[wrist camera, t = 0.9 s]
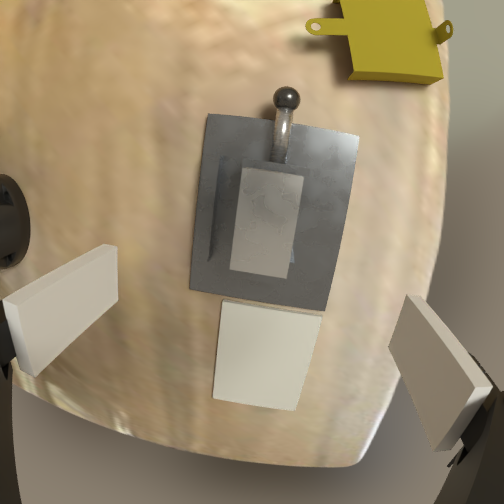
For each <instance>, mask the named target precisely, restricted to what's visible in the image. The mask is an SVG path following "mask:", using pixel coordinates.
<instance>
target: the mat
mask: <svg viewBox="0 0 504 504" xmlns="http://www.w3.org/2000/svg"><path fill="white" fill-rule="evenodd" d="M321 321H322V315H319V314H312V313H305V312H298V311H292V310H285V309H279V308H272V307H266V306H260V305H254V304H248V303H242V302H236V301H231V300H225V299H223V302H222V311H221V320H220V330H219V339H218V349H217V359H216V369H215V379H214V389H213V398H215V399H220V400H225V401H231V402H236V403H242V404H248V405H254V406H261V407H268V408H275V409H283V410H291V411H295V409H296V406H297V403H298V400H299V397H300V394H301V390H302V387H303V384H304V381H305V377H306V374H307V371H308V367H309V364H310V361H311V357H312V354H313V350H314V347H315V343H316V339H317V336H318V332H319V328H320V325H321Z"/></svg>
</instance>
